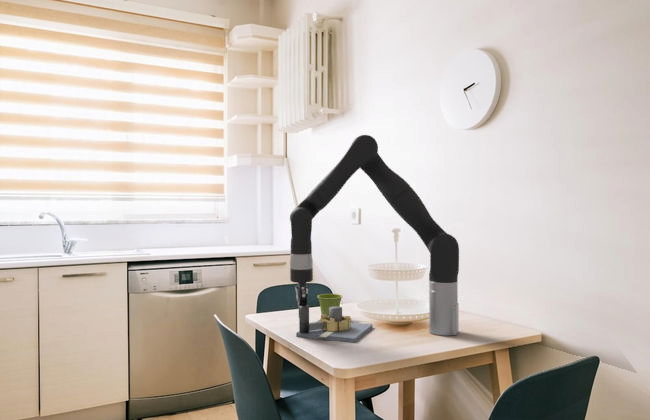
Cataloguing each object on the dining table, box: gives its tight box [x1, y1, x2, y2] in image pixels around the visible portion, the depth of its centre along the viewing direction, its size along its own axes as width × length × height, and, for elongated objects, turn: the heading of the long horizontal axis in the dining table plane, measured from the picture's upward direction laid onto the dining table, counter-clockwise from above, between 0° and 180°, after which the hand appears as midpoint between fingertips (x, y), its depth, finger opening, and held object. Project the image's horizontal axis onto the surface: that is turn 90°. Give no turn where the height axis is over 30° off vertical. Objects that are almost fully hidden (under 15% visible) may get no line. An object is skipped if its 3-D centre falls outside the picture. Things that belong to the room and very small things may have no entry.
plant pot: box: [316, 293, 343, 316], centre depth 184 cm, size 9×9×9 cm
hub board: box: [295, 306, 374, 343], centre depth 163 cm, size 20×22×8 cm
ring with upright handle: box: [298, 304, 352, 333], centre depth 162 cm, size 19×10×8 cm, turn 120°
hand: (302, 318), depth 163 cm, fingers closed
